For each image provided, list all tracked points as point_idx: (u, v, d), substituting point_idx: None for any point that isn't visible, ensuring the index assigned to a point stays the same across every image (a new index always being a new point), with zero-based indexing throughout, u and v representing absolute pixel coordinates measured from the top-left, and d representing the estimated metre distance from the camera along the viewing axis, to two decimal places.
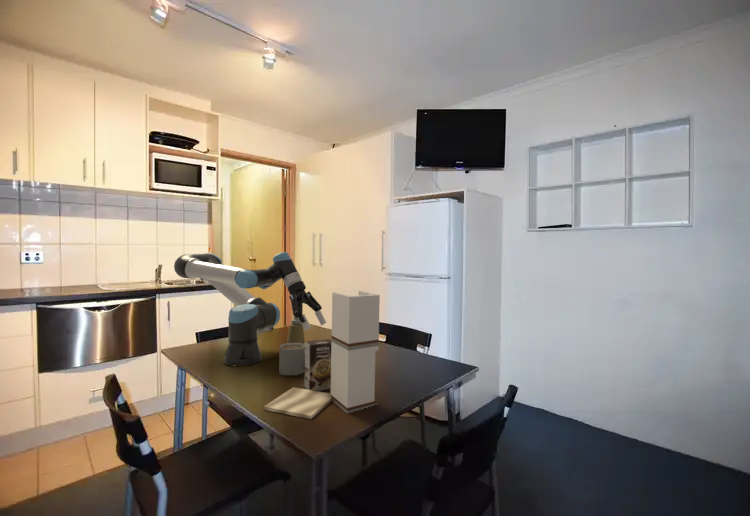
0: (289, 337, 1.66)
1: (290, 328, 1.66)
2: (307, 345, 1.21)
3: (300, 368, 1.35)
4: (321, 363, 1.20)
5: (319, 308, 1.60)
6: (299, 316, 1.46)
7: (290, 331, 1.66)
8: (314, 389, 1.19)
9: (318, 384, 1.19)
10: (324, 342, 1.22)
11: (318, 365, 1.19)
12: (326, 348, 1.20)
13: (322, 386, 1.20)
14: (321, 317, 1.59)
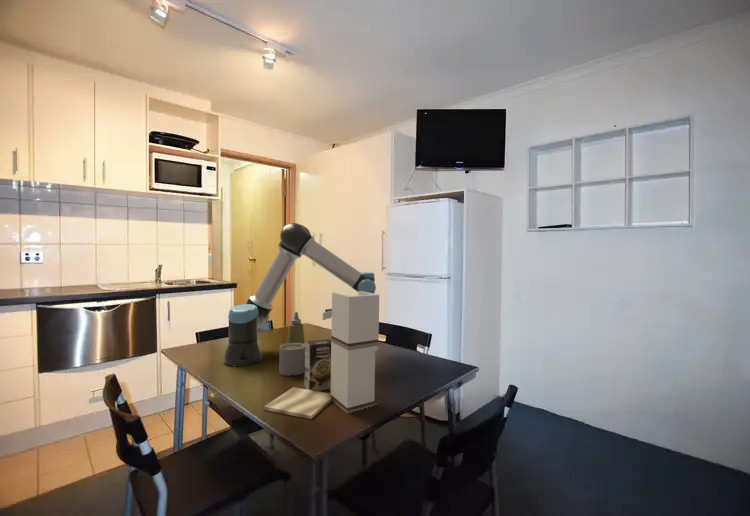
0: (289, 337, 1.66)
1: (290, 328, 1.66)
2: (307, 345, 1.21)
3: (300, 368, 1.35)
4: (321, 363, 1.20)
5: None
6: None
7: (290, 331, 1.66)
8: (314, 389, 1.19)
9: (318, 384, 1.19)
10: (324, 342, 1.22)
11: (318, 365, 1.19)
12: (326, 348, 1.20)
13: (322, 386, 1.20)
14: (328, 316, 1.40)
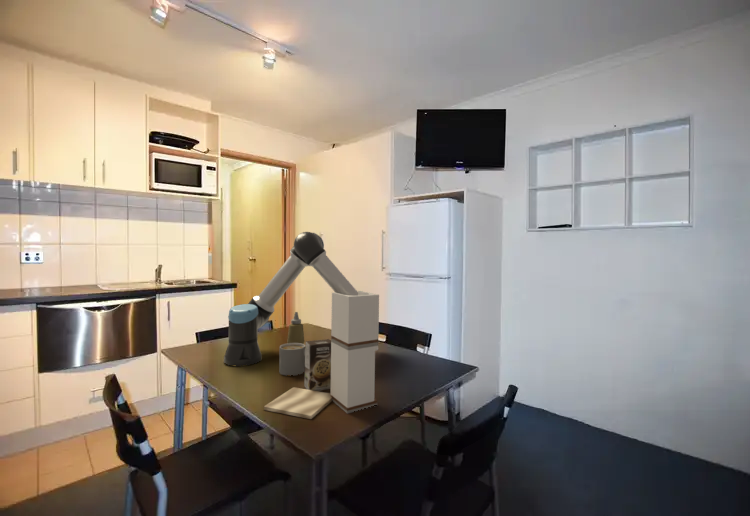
0: (289, 337, 1.66)
1: (290, 328, 1.66)
2: (307, 345, 1.21)
3: (300, 368, 1.35)
4: (321, 363, 1.20)
5: None
6: None
7: (290, 331, 1.66)
8: (314, 389, 1.19)
9: (318, 384, 1.19)
10: (324, 342, 1.22)
11: (318, 365, 1.19)
12: (326, 348, 1.20)
13: (322, 386, 1.20)
14: None
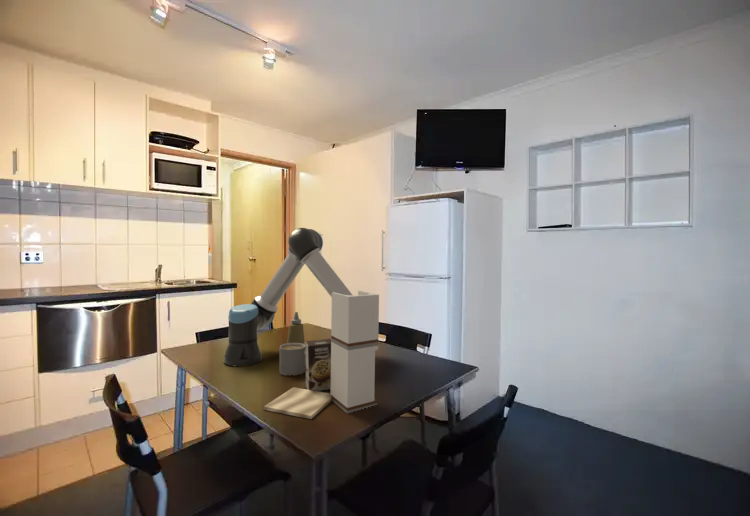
0: (289, 337, 1.66)
1: (290, 328, 1.66)
2: (306, 345, 1.20)
3: (300, 368, 1.35)
4: (320, 364, 1.18)
5: None
6: None
7: (290, 331, 1.66)
8: (314, 389, 1.18)
9: (318, 384, 1.19)
10: (323, 342, 1.20)
11: (317, 366, 1.18)
12: (325, 349, 1.19)
13: (322, 386, 1.19)
14: None
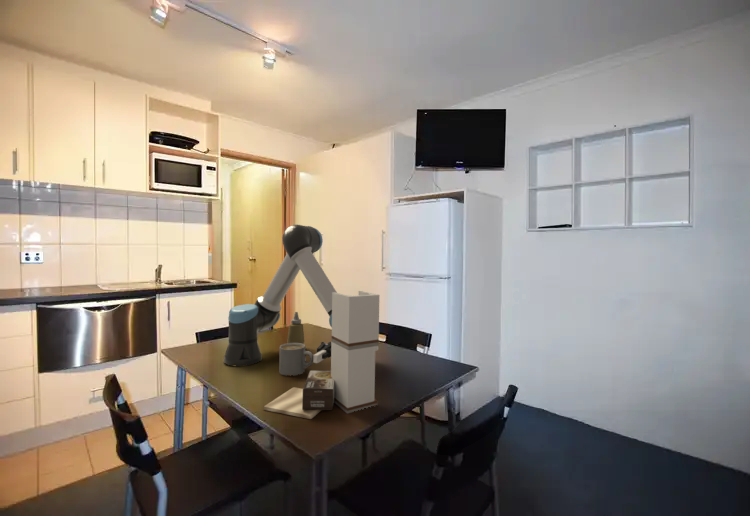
0: (289, 337, 1.66)
1: (290, 328, 1.66)
2: None
3: (300, 368, 1.35)
4: None
5: None
6: (328, 354, 1.25)
7: (290, 331, 1.66)
8: None
9: None
10: (320, 404, 1.03)
11: None
12: None
13: None
14: None
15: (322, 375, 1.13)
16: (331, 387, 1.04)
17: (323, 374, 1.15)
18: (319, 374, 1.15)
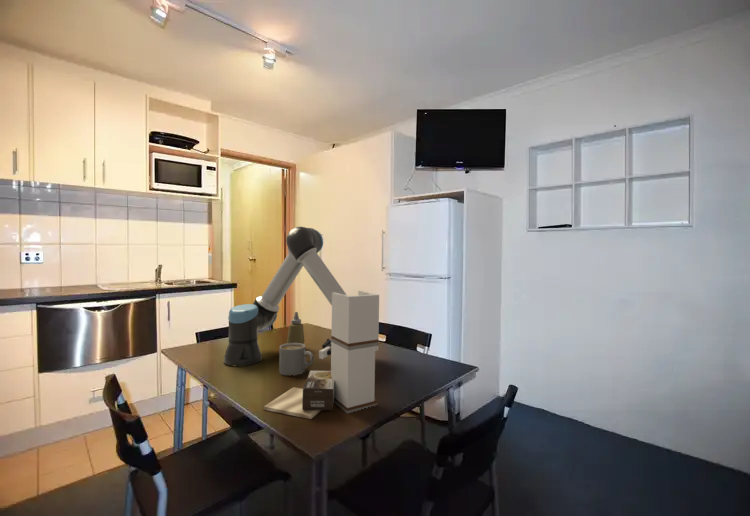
0: (289, 337, 1.66)
1: (290, 328, 1.66)
2: None
3: (300, 368, 1.35)
4: None
5: None
6: None
7: (290, 331, 1.66)
8: None
9: None
10: (320, 404, 1.03)
11: None
12: None
13: None
14: None
15: (322, 375, 1.13)
16: (331, 387, 1.04)
17: (323, 374, 1.15)
18: (319, 374, 1.15)
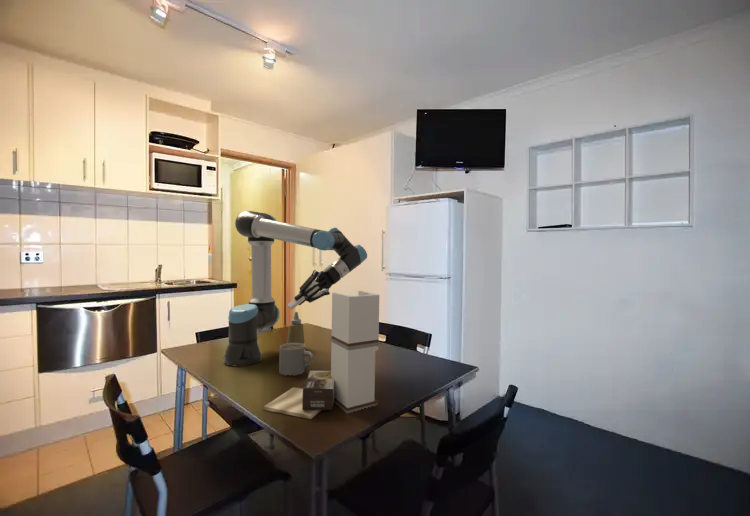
0: (289, 337, 1.66)
1: (290, 328, 1.66)
2: None
3: (300, 368, 1.35)
4: None
5: (307, 298, 1.40)
6: (300, 293, 1.39)
7: (290, 331, 1.66)
8: None
9: None
10: (320, 404, 1.03)
11: None
12: None
13: None
14: None
15: (322, 375, 1.13)
16: (331, 387, 1.04)
17: (323, 374, 1.15)
18: (319, 374, 1.15)
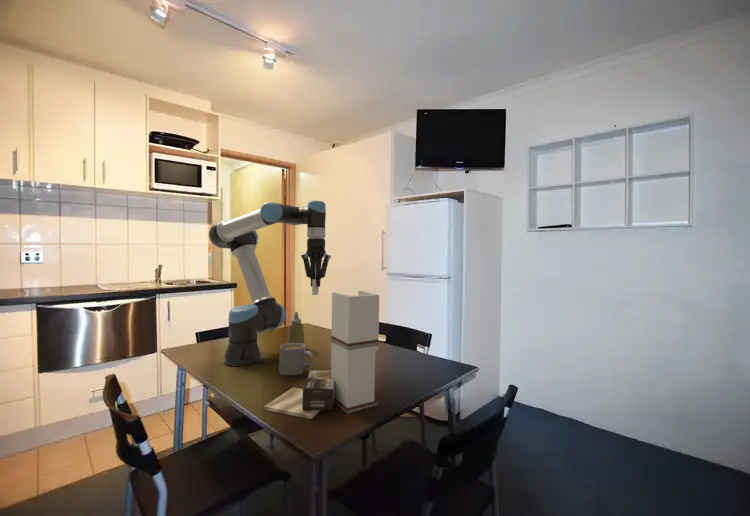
0: (289, 337, 1.66)
1: (290, 328, 1.66)
2: None
3: (300, 368, 1.35)
4: None
5: (316, 277, 1.45)
6: None
7: (290, 331, 1.66)
8: None
9: None
10: (320, 404, 1.03)
11: None
12: None
13: None
14: None
15: (322, 375, 1.13)
16: (331, 387, 1.04)
17: (323, 374, 1.15)
18: (319, 374, 1.15)
